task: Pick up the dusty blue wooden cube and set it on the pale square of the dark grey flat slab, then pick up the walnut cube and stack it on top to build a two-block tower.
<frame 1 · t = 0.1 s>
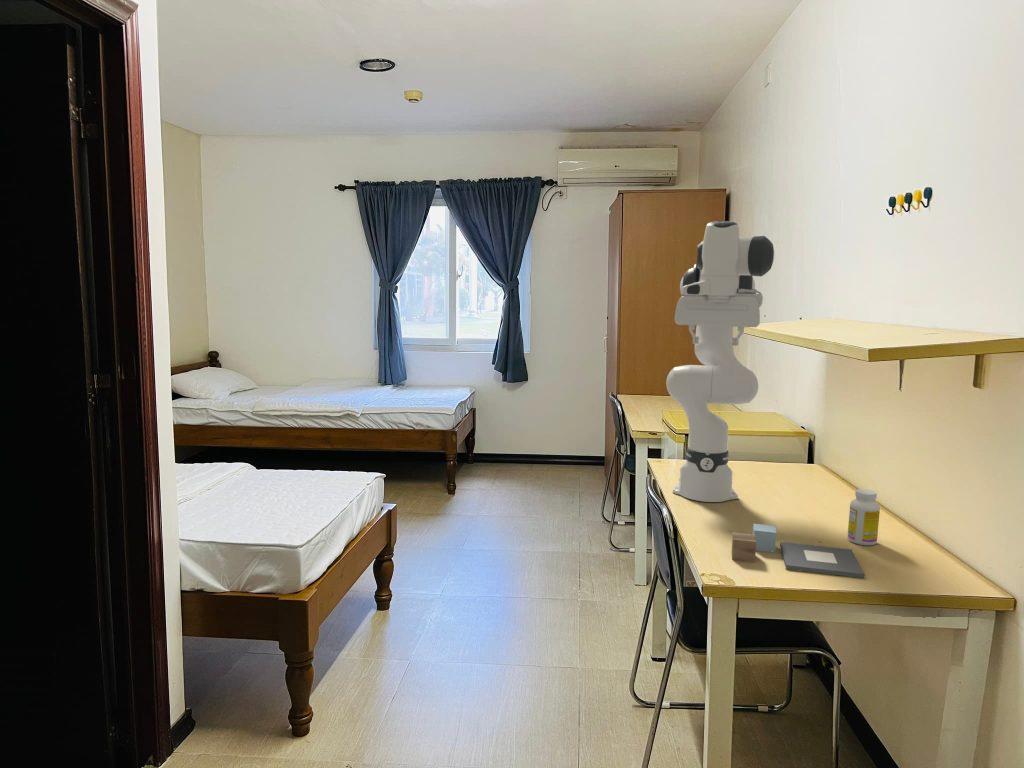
hand: (715, 344, 177), 48 cm above the table, tool pointing down, fingers open, 8 cm apart
dark grey flat slab: (819, 561, 165), on the table
blue block: (763, 547, 173), on the table
supplement bottle: (861, 542, 178), on the table
walnut block: (743, 557, 167), on the table
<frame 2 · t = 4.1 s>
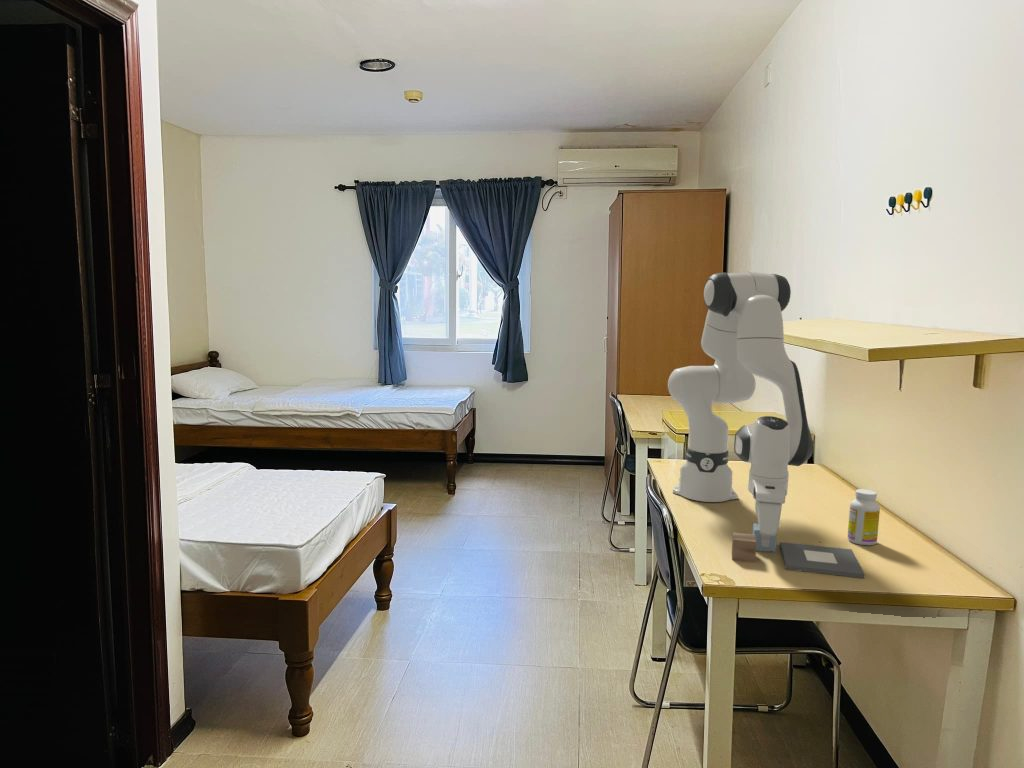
hand: (763, 540, 173), 2 cm above the table, tool pointing down, fingers closed on blue block, 5 cm apart
blue block: (763, 547, 173), on the table, touching gripper
everything else where it was.
when the fingers open (4 cm above the table, at t = 9.3 s): blue block drops 1 cm, resting on dark grey flat slab.
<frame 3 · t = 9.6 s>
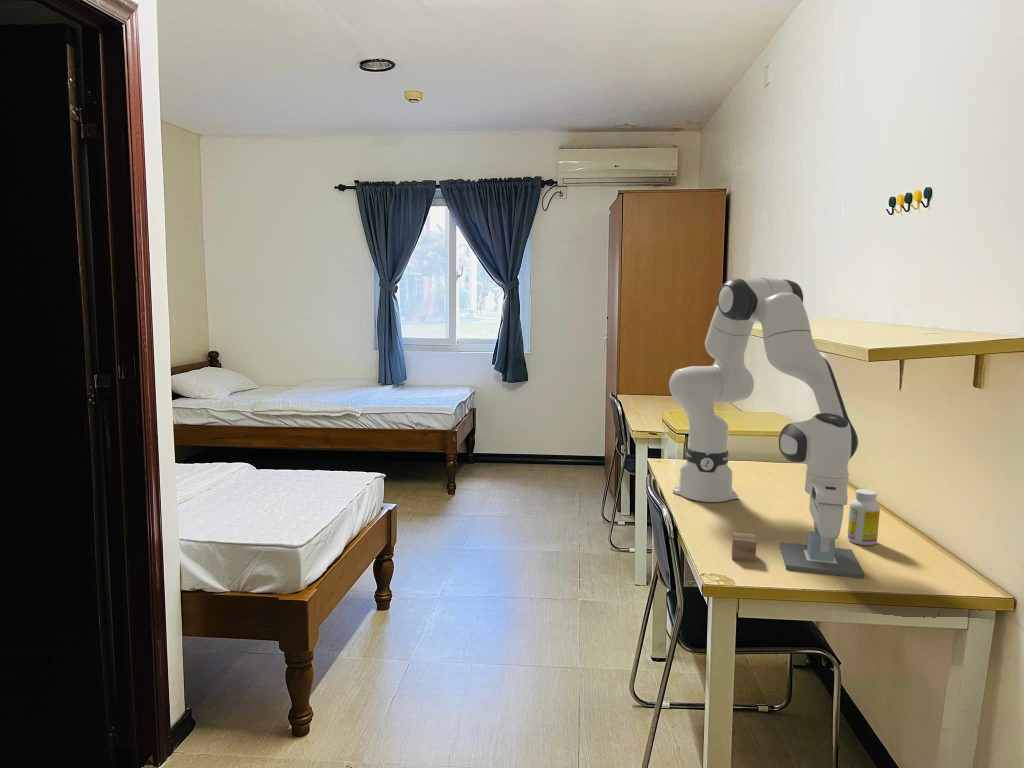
hand: (821, 544, 165), 4 cm above the table, tool pointing down, fingers open, 8 cm apart
blue block: (819, 556, 165), point 1 cm above the table, touching dark grey flat slab
everything else where it was.
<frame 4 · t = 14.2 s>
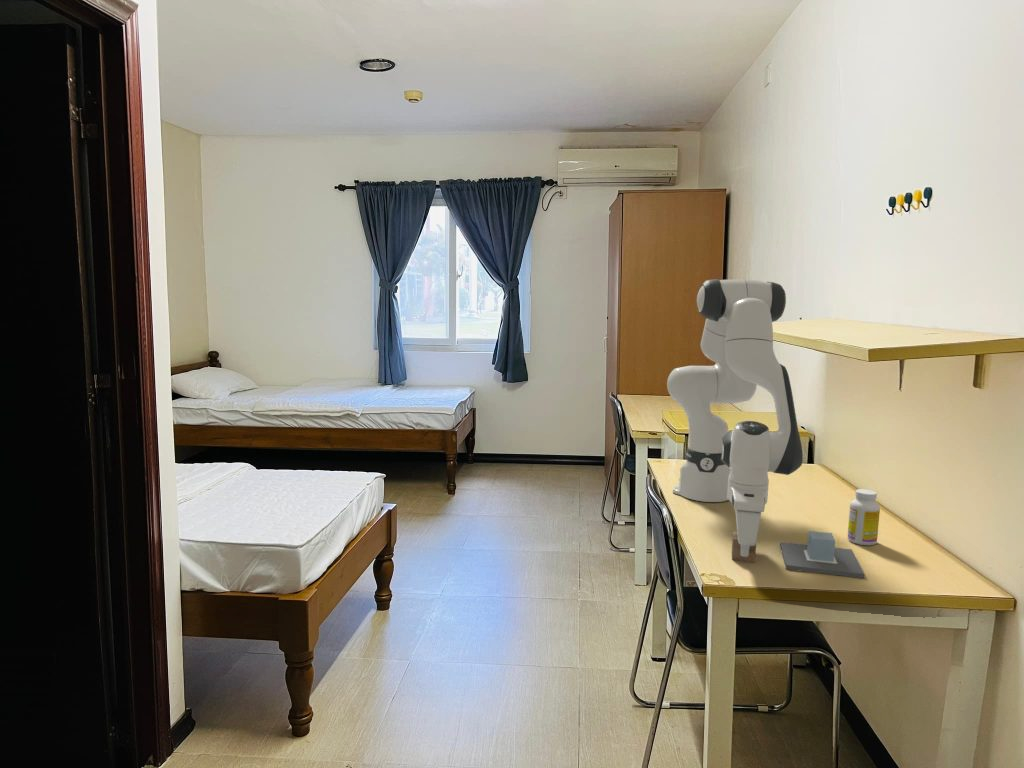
hand: (743, 550, 166), 2 cm above the table, tool pointing down, fingers closed on walnut block, 5 cm apart
walnut block: (743, 557, 167), on the table, touching gripper
everything else where it was.
when the fingers open (9 cm above the table, at t = 19.9 s): walnut block stays where it is, resting on blue block.
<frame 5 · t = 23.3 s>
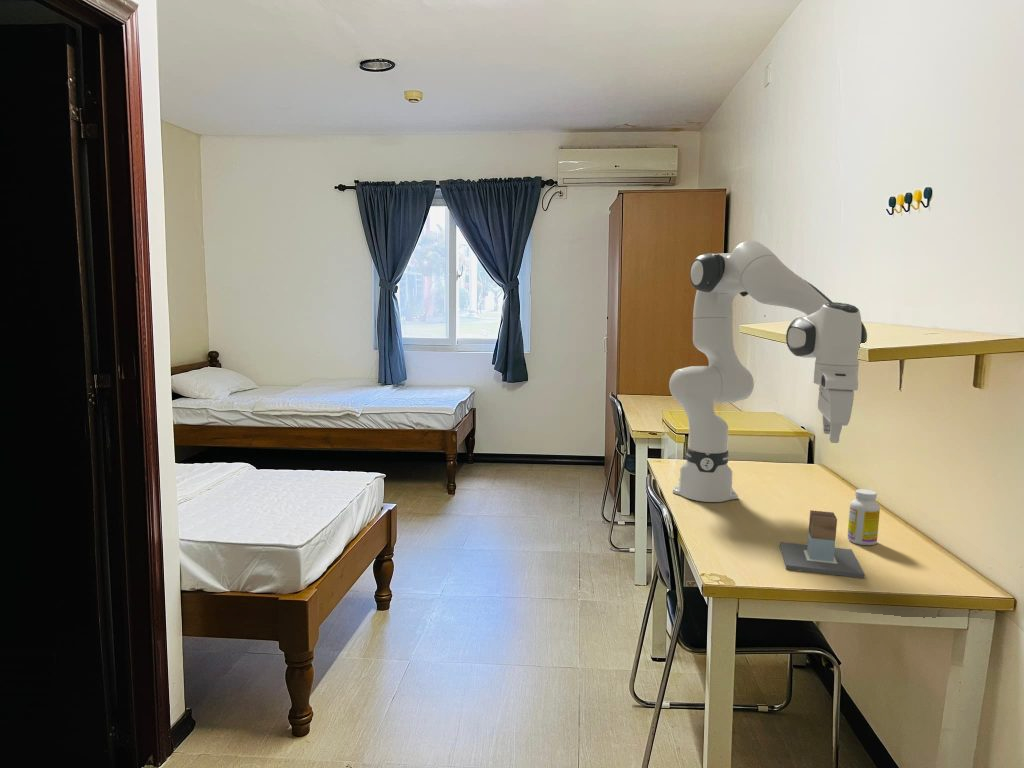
hand: (830, 437, 161), 29 cm above the table, tool pointing down, fingers open, 8 cm apart
blue block: (819, 556, 165), point 1 cm above the table, touching dark grey flat slab, walnut block
walnut block: (821, 535, 164), point 6 cm above the table, touching blue block
everything else where it was.
at the end: blue block 0.1 cm off-centre on the dark grey flat slab, point 1.1 cm above the dark grey flat slab's base; walnut block 0.1 cm off-centre on the dark grey flat slab, point 6.1 cm above the dark grey flat slab's base; walnut block tilted 0° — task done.
